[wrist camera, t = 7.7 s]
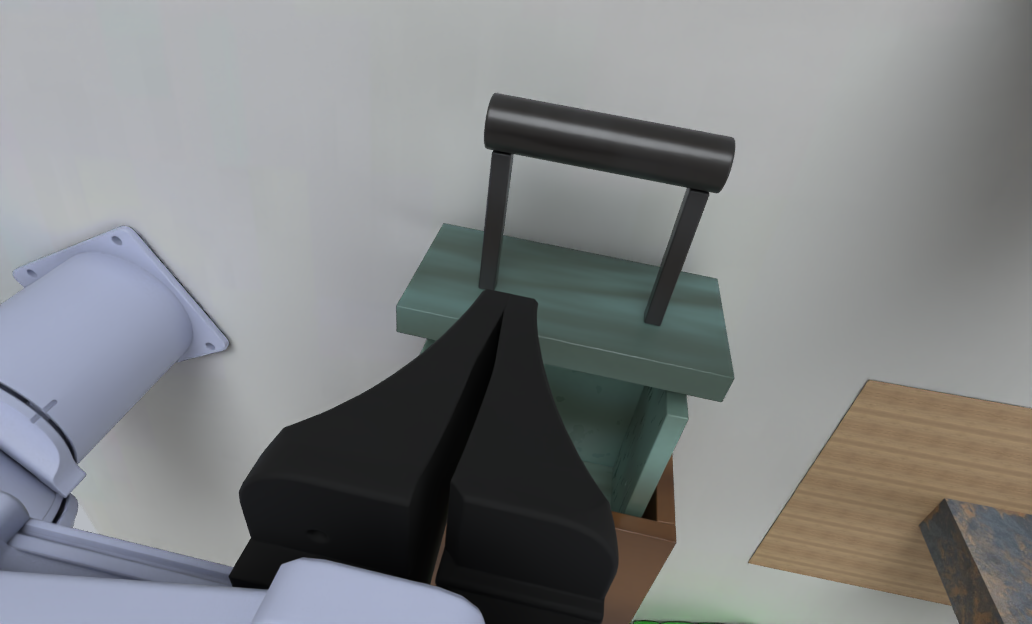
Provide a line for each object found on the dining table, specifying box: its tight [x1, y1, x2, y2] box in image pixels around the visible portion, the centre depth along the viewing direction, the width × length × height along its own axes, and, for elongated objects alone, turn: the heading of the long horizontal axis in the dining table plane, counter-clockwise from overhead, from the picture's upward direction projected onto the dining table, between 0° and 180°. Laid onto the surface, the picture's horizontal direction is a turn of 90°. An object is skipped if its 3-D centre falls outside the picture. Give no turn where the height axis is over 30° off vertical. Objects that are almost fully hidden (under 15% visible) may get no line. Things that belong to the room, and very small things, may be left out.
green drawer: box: [396, 93, 735, 518], centre depth 23 cm, size 19×11×6 cm, turn 173°
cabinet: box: [430, 455, 676, 624], centre depth 31 cm, size 14×13×8 cm
